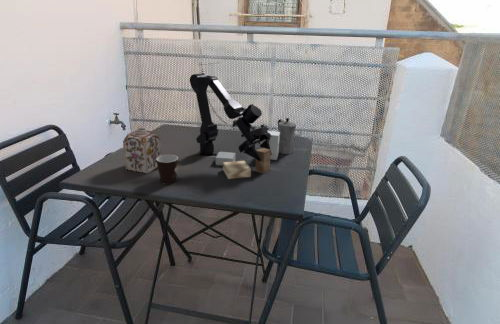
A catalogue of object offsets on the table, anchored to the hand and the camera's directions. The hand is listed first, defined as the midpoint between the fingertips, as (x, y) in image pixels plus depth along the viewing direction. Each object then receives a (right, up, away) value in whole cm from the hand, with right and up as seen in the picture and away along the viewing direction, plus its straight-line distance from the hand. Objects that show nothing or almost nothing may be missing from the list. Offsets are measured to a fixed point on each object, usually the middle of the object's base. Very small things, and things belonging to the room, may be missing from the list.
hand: (265, 157), depth 149 cm
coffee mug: (-40, -9, -8) cm, 42 cm away
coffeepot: (+11, +4, +29) cm, 32 cm away
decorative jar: (-55, -4, +3) cm, 55 cm away
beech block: (-13, -7, 0) cm, 15 cm away
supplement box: (+3, 0, +20) cm, 20 cm away
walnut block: (-1, -6, +3) cm, 7 cm away
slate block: (-19, -2, +11) cm, 22 cm away
